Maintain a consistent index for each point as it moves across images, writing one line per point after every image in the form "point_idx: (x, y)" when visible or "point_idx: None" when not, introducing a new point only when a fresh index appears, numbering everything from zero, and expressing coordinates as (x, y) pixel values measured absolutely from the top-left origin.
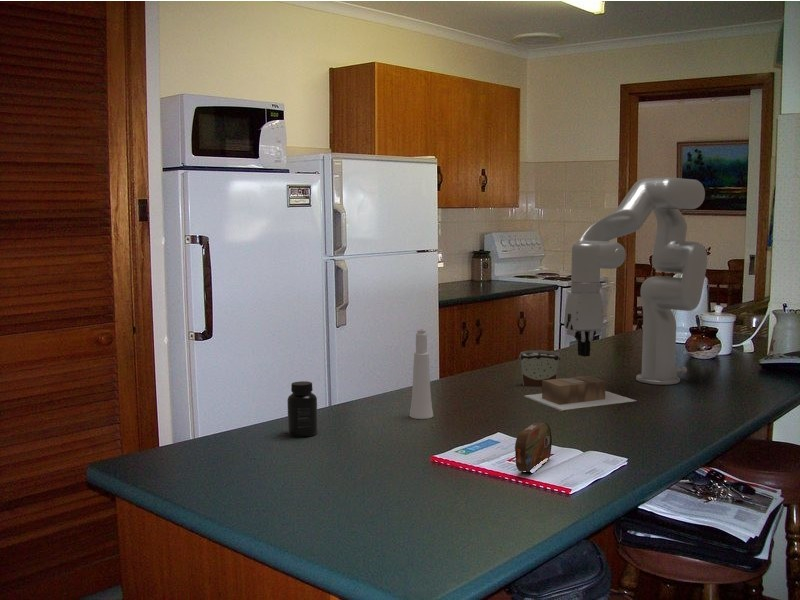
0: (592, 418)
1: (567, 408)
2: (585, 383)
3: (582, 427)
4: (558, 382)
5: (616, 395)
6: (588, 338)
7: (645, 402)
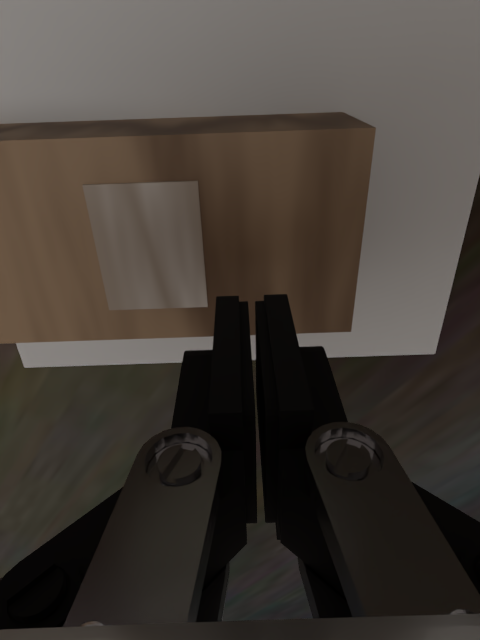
0: (101, 463)
1: (55, 356)
2: (194, 336)
3: (20, 518)
4: (30, 254)
5: (445, 234)
6: (301, 570)
7: (461, 362)
